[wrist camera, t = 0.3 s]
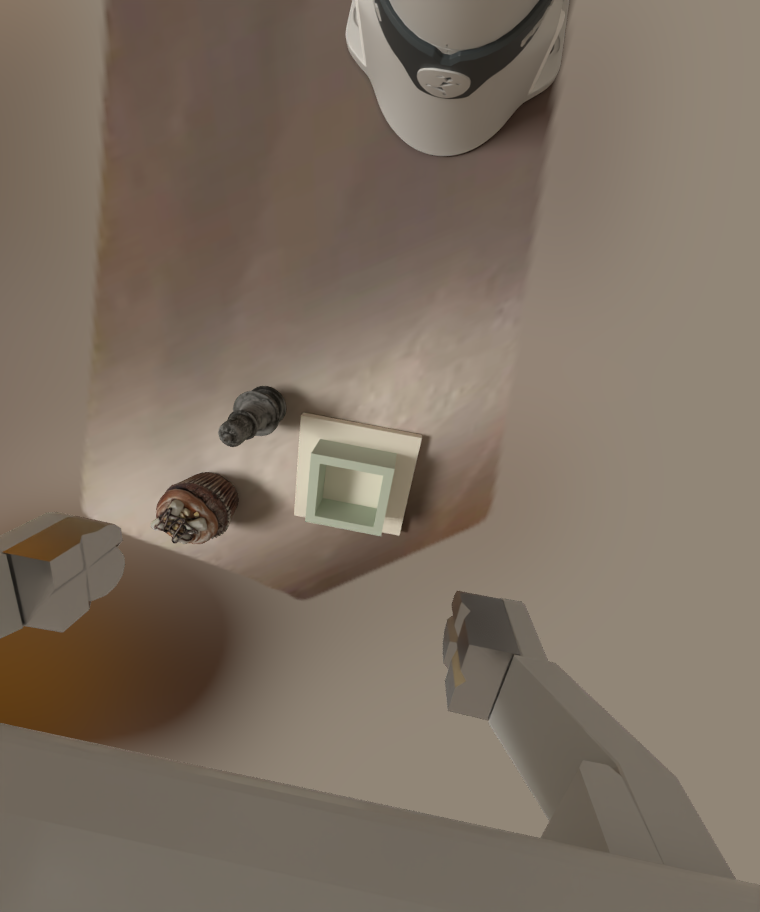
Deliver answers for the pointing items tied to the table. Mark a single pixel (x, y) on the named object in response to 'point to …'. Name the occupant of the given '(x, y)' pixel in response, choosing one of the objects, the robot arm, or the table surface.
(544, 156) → the table surface
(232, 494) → the cupcake
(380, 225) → the table surface
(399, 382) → the table surface
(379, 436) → the stand
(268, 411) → the dark chess piece
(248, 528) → the table surface
